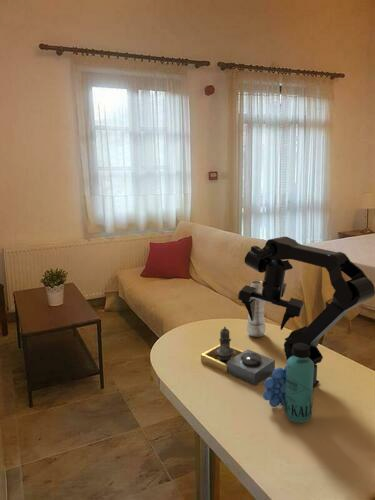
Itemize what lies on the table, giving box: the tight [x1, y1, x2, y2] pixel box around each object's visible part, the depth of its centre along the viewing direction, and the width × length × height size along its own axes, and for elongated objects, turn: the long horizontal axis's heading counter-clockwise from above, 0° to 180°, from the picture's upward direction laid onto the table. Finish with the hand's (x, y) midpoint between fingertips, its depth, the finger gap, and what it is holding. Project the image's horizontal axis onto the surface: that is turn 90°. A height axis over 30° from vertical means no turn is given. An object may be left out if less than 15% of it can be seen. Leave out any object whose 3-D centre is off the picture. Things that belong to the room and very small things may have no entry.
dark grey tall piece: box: [216, 326, 234, 364], centre depth 123 cm, size 6×6×12 cm
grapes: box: [262, 364, 287, 408], centre depth 101 cm, size 12×7×12 cm, turn 96°
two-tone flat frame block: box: [200, 344, 276, 387], centre depth 120 cm, size 21×11×5 cm, turn 44°
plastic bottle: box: [246, 280, 266, 338], centre depth 139 cm, size 6×7×20 cm
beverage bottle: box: [283, 343, 314, 423], centre depth 94 cm, size 6×7×20 cm
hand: (266, 324), depth 120 cm, fingers open, 9 cm apart
